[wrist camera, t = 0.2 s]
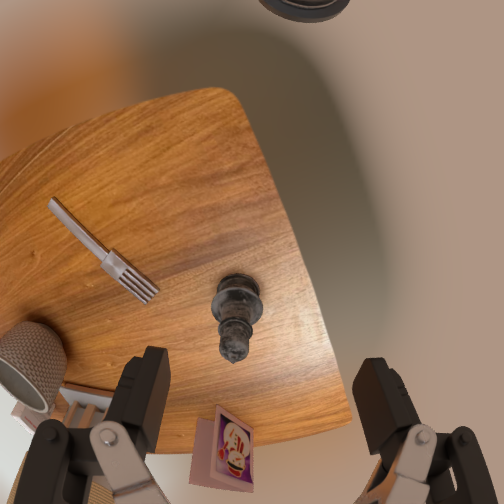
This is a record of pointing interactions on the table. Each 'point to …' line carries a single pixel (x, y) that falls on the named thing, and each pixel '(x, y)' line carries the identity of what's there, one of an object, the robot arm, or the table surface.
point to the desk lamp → (81, 416)
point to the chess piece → (236, 314)
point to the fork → (107, 257)
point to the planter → (32, 365)
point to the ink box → (30, 417)
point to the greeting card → (223, 453)
